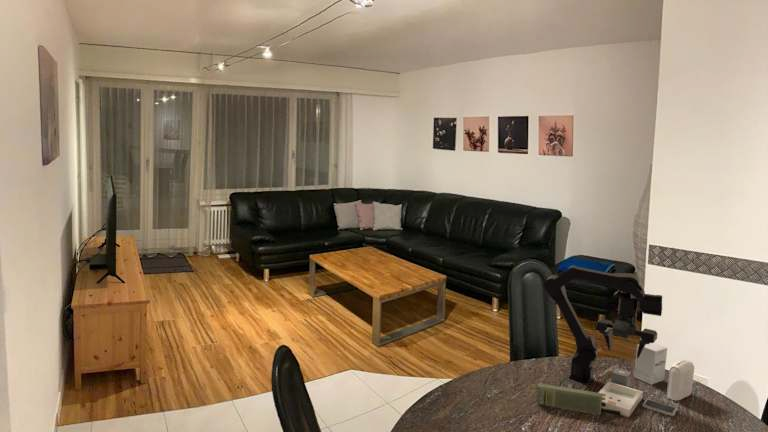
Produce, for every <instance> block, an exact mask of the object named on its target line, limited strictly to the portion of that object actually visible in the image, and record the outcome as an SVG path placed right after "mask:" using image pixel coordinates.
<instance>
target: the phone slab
mask: <svg viewBox="0 0 768 432" xmlns="http://www.w3.org/2000/svg"><path fill="white" fill-rule="evenodd" d="M642 408H645V409H649V410H651V411H655V412H657V413H660V414H662V415H663V414H664V415H667V416H670V417H672V418H673V417H675V415H676V414H677V411H678V408H677V407H675V406H672V405H668V404H665V403H661V402H658V401H656V400H651V399H648V398H646V399H645V400H644V402H643V403H642Z"/></svg>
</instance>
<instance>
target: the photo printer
mask: <svg viewBox="0 0 768 432" xmlns="http://www.w3.org/2000/svg"><path fill="white" fill-rule="evenodd" d="M694 373H695V366H694V363H693V362H692V361H690V360H687V359H682V360H679V361H676V362H675V363H673V365H671V366H670V368H669V372H668V380H667V387H666V388H667V389H666V397H667V398H668V399H670V400H672V401H675V402H676V401H680V400H683V399H685V398H687V397H689V396H690V395H692V390H693V382H694Z"/></svg>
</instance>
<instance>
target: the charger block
mask: <svg viewBox="0 0 768 432" xmlns="http://www.w3.org/2000/svg"><path fill="white" fill-rule="evenodd" d="M631 378H632V371H629V370H626V369H623V368H619V367H615V369H614V370H612V371H611V380H610V382H613V383H616V384H619V385H623V386H626V387H629V388H631V381H632V380H631Z"/></svg>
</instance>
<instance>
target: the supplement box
mask: <svg viewBox="0 0 768 432" xmlns="http://www.w3.org/2000/svg"><path fill="white" fill-rule="evenodd" d="M638 348H639V343H638V344H636V353H635V359H634V360H635V361H634V362H635V363H634V371H633V378H635V379H638V380H640V381H642V382H644V383H646V384H649V385H651V386H653V385H654V384H657V383H659V382H663V381H665V373H666V363H667V353H668V347H666V346H663V345H660V344H659V343H655V342H654V343H650V344H646V345H645V347H644V348H643V350H642V352H641V354H640V356H639V358H637V353H638Z"/></svg>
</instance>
